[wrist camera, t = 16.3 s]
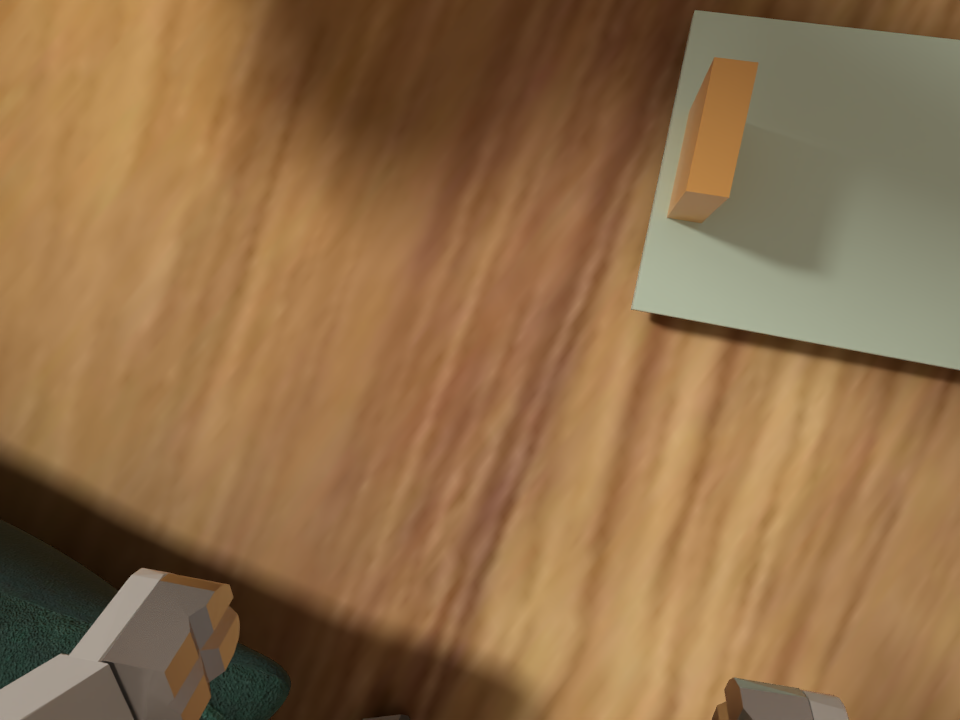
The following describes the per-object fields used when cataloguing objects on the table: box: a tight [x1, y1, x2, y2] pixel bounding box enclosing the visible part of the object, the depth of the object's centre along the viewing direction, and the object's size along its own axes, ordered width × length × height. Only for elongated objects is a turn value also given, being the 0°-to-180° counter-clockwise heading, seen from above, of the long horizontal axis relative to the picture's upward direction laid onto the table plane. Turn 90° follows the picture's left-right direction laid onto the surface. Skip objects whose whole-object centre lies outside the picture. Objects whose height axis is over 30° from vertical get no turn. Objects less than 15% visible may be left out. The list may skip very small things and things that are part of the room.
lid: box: [631, 10, 960, 371], centre depth 27 cm, size 19×14×8 cm
